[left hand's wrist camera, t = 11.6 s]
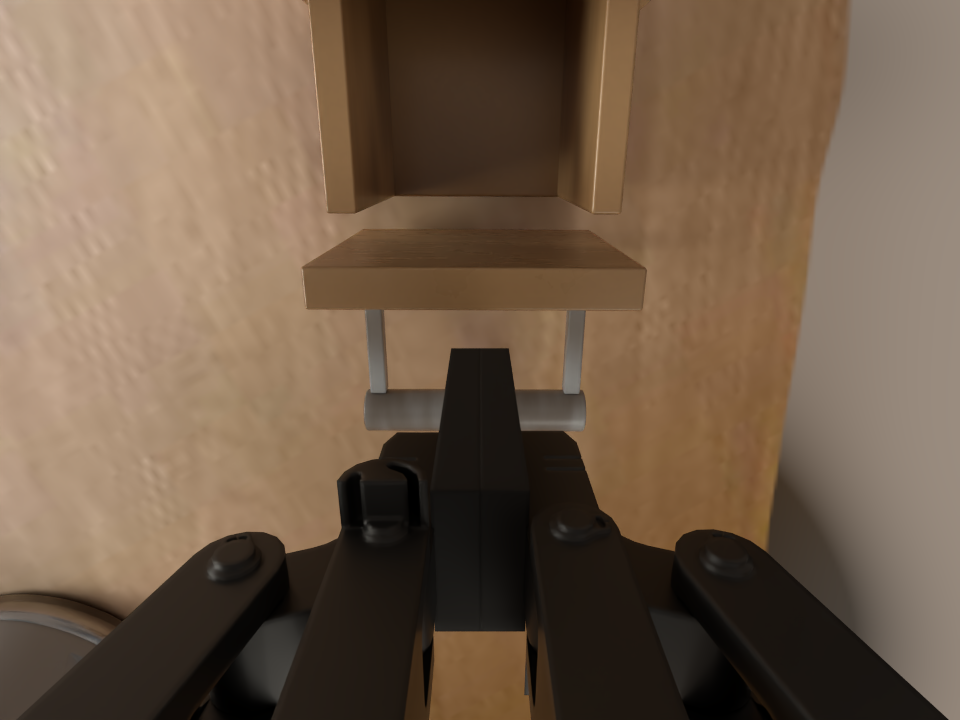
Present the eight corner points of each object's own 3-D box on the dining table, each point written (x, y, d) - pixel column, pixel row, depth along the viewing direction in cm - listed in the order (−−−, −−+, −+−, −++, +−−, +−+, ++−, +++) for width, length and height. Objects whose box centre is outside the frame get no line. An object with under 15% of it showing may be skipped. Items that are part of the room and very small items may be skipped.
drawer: (578, 390, 25) (622, 497, 17) (373, 390, 25) (324, 495, 17) (623, -247, 18) (740, -576, 10) (329, -249, 17) (206, -581, 10)
